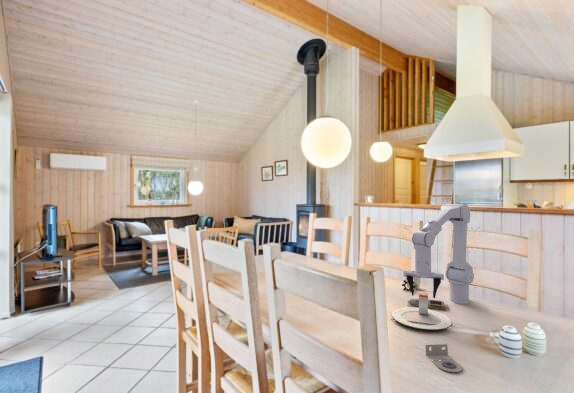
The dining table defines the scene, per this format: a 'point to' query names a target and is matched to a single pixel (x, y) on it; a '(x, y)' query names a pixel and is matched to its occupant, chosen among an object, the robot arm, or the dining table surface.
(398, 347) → the dining table surface
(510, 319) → the dining table surface
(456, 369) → the bracket
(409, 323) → the plate
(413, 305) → the board
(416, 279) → the valve
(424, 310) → the pin
